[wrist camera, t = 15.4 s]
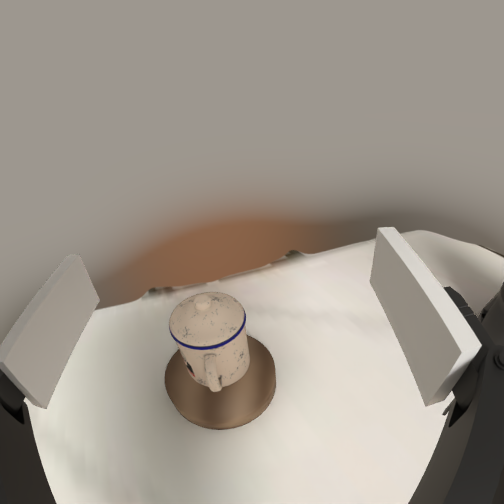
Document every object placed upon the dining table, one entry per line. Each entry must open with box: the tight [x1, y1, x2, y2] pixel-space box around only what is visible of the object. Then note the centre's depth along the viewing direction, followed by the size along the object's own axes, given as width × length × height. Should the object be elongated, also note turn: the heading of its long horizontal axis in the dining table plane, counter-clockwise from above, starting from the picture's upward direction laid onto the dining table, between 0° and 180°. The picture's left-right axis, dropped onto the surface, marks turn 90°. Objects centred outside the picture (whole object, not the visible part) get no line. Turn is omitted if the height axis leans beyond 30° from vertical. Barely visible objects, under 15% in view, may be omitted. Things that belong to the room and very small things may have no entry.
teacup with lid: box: [169, 292, 250, 392], centre depth 33 cm, size 12×9×12 cm
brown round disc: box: [165, 335, 276, 430], centre depth 37 cm, size 15×15×3 cm
